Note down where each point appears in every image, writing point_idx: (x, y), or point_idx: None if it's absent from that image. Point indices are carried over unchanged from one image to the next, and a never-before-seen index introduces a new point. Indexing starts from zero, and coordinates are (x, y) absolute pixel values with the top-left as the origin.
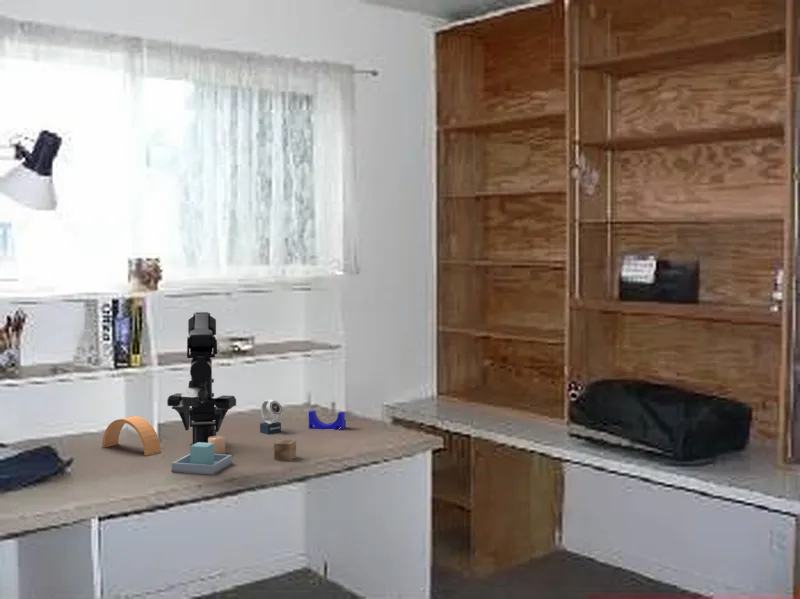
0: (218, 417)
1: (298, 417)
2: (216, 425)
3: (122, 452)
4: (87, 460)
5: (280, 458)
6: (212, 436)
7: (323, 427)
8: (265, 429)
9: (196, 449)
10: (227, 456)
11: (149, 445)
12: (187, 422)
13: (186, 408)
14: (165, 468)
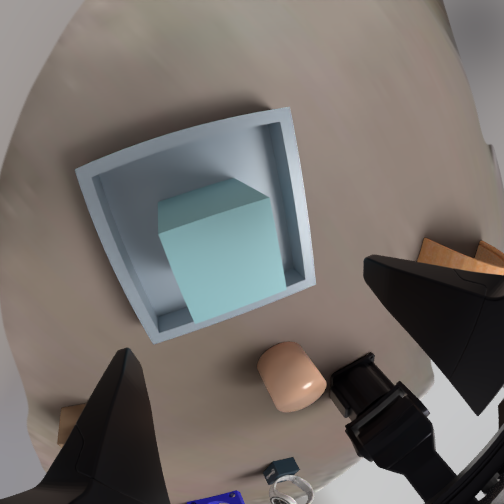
0: (68, 457)
1: (286, 488)
2: (108, 387)
3: (459, 230)
4: (477, 146)
5: (81, 407)
6: (320, 393)
7: (214, 498)
8: (282, 466)
9: (223, 205)
10: (149, 321)
11: (438, 260)
12: (403, 297)
13: (489, 366)
14: (323, 143)
